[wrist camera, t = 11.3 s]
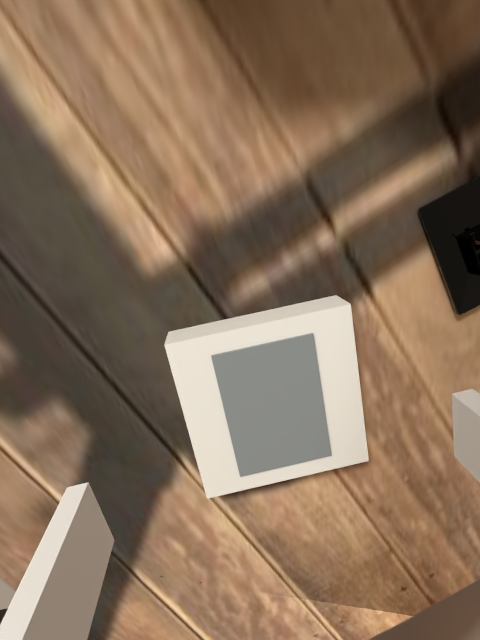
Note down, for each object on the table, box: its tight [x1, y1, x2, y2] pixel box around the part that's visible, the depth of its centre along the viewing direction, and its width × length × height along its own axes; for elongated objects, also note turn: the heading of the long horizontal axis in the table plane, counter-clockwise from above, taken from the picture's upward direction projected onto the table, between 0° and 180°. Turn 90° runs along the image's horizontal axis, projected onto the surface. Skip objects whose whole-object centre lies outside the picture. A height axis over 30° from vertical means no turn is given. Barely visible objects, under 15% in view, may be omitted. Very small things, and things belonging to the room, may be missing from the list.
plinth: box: [165, 295, 369, 499], centre depth 39 cm, size 18×18×4 cm
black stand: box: [418, 176, 480, 315], centre depth 36 cm, size 12×7×5 cm, turn 28°
